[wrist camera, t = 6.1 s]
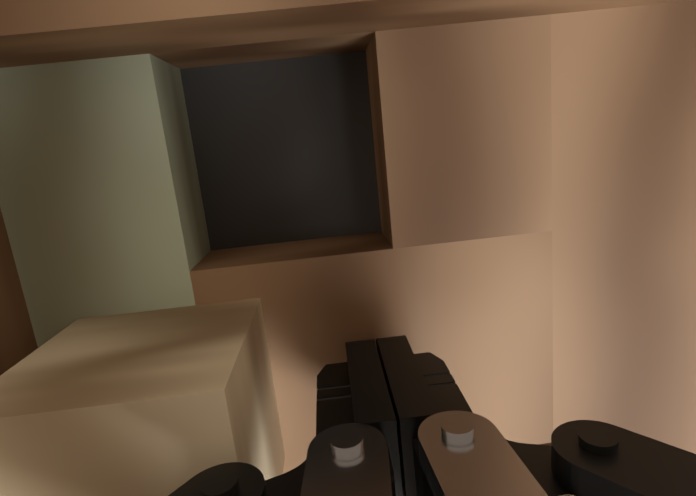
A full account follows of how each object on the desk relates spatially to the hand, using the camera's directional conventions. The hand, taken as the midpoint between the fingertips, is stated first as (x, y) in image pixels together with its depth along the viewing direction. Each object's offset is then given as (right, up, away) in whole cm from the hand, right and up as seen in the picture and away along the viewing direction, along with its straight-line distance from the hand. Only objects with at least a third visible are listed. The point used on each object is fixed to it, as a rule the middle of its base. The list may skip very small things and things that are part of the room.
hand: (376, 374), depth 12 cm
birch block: (-5, -1, +1) cm, 5 cm away
